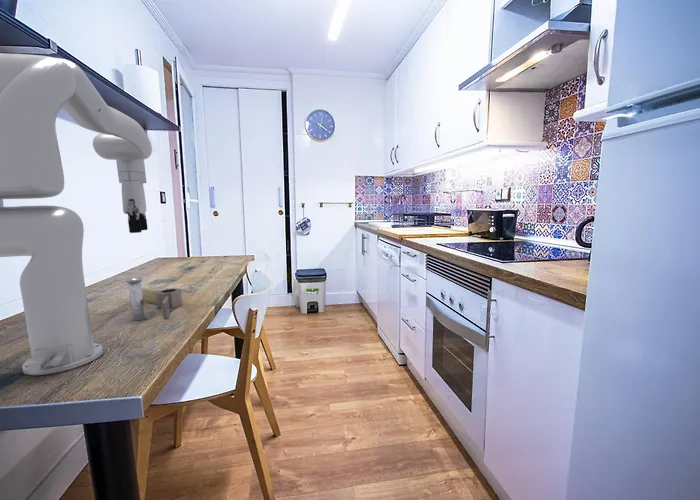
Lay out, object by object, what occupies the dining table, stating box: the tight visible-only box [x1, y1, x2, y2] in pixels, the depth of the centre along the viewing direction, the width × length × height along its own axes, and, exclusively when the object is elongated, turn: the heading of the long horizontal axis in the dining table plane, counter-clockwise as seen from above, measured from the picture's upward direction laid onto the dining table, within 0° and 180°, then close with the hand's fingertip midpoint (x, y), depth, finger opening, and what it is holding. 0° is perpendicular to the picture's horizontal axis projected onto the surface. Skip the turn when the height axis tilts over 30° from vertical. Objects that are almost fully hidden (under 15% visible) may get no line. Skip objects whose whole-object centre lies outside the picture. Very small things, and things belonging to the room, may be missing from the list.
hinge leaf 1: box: [142, 287, 160, 305], centre depth 109 cm, size 11×1×4 cm, turn 63°
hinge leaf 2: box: [156, 287, 184, 320], centre depth 100 cm, size 17×7×5 cm, turn 23°
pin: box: [125, 276, 146, 322], centre depth 93 cm, size 4×4×12 cm
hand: (139, 231), depth 109 cm, fingers open, 9 cm apart
